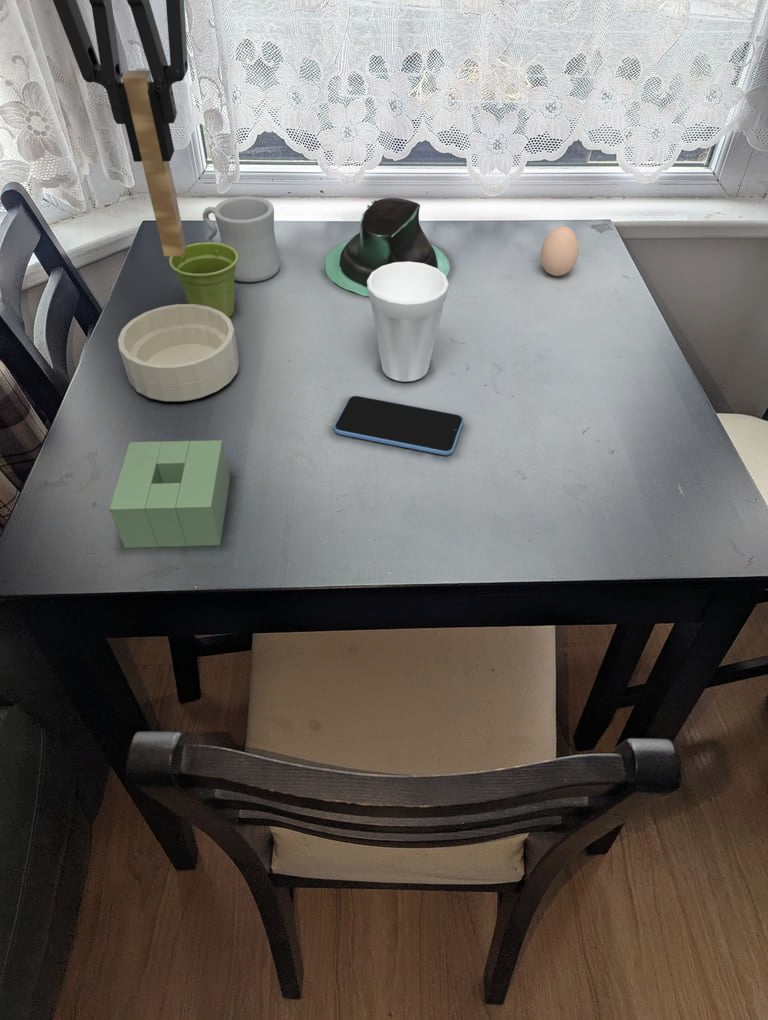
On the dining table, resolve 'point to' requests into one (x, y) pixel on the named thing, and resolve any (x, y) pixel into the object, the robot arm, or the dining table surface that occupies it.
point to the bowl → (179, 352)
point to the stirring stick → (155, 164)
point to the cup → (406, 316)
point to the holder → (171, 494)
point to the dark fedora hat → (382, 245)
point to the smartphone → (399, 425)
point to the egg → (560, 251)
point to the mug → (247, 235)
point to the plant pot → (207, 275)
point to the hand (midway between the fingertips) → (154, 155)
